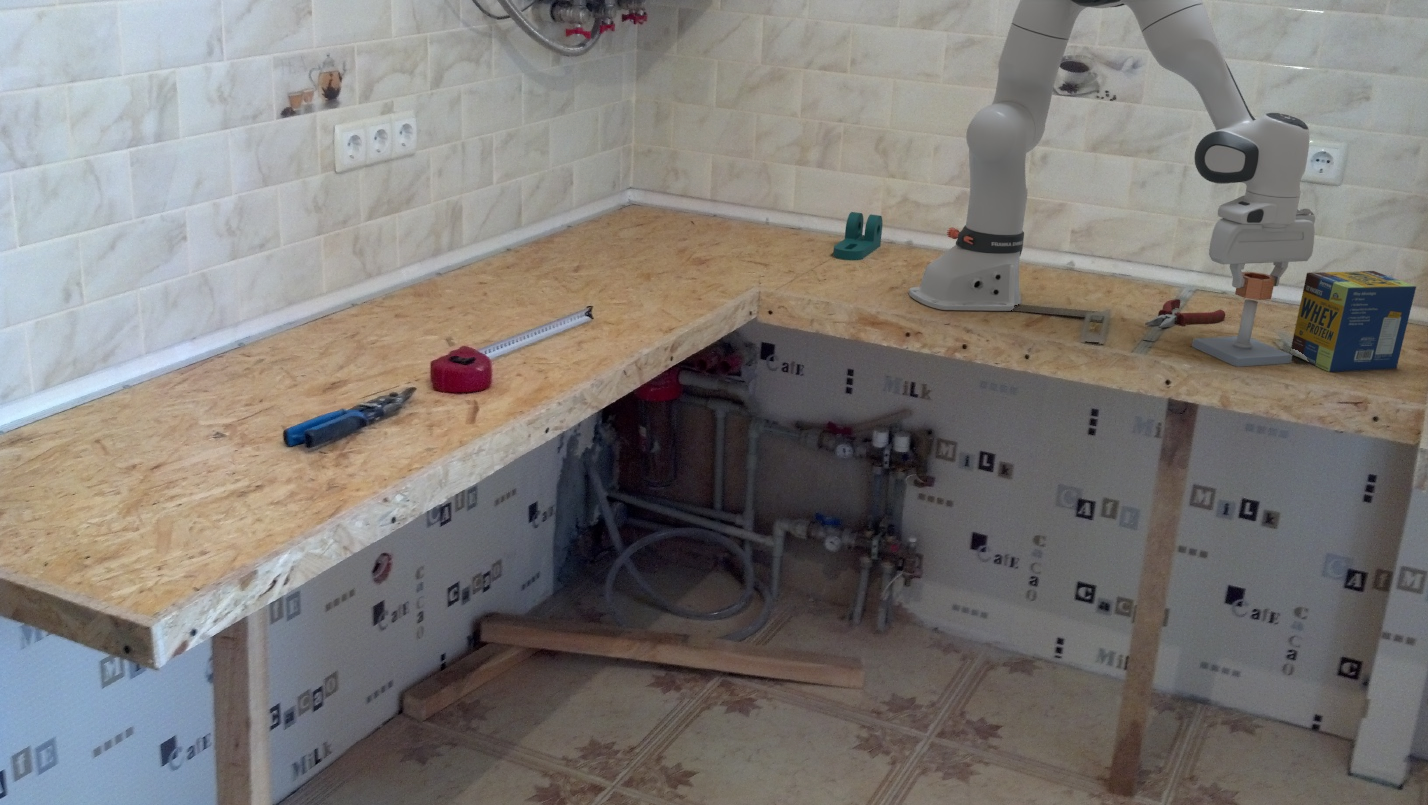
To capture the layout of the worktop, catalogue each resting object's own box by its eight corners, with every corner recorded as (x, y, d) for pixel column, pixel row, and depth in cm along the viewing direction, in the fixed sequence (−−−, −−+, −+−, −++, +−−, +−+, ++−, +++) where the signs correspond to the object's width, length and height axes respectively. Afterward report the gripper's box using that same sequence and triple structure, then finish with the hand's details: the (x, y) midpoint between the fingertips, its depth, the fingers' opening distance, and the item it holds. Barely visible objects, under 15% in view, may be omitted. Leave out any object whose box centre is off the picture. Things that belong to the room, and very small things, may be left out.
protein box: (1287, 354, 248) (1305, 271, 243) (1356, 351, 253) (1374, 270, 247) (1328, 372, 239) (1347, 287, 233) (1398, 369, 243) (1418, 285, 238)
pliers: (1123, 324, 263) (1126, 311, 262) (1172, 308, 276) (1175, 296, 276) (1179, 339, 255) (1181, 326, 254) (1226, 322, 269) (1229, 309, 268)
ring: (1251, 300, 238) (1255, 281, 237) (1228, 291, 244) (1231, 272, 242) (1278, 299, 240) (1282, 279, 239) (1254, 290, 246) (1258, 271, 244)
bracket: (852, 243, 315) (855, 209, 312) (880, 247, 313) (883, 213, 310) (829, 258, 299) (832, 223, 296) (858, 262, 297) (862, 227, 294)
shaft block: (1236, 366, 238) (1247, 311, 235) (1191, 346, 249) (1201, 293, 246) (1290, 363, 243) (1302, 309, 239) (1244, 343, 253) (1254, 291, 250)
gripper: (1303, 204, 243) (1288, 280, 248) (1210, 206, 236) (1197, 284, 241) (1329, 212, 238) (1313, 288, 242) (1235, 214, 231) (1221, 293, 235)
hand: (1254, 286), depth 241 cm, fingers closed on ring, 6 cm apart
